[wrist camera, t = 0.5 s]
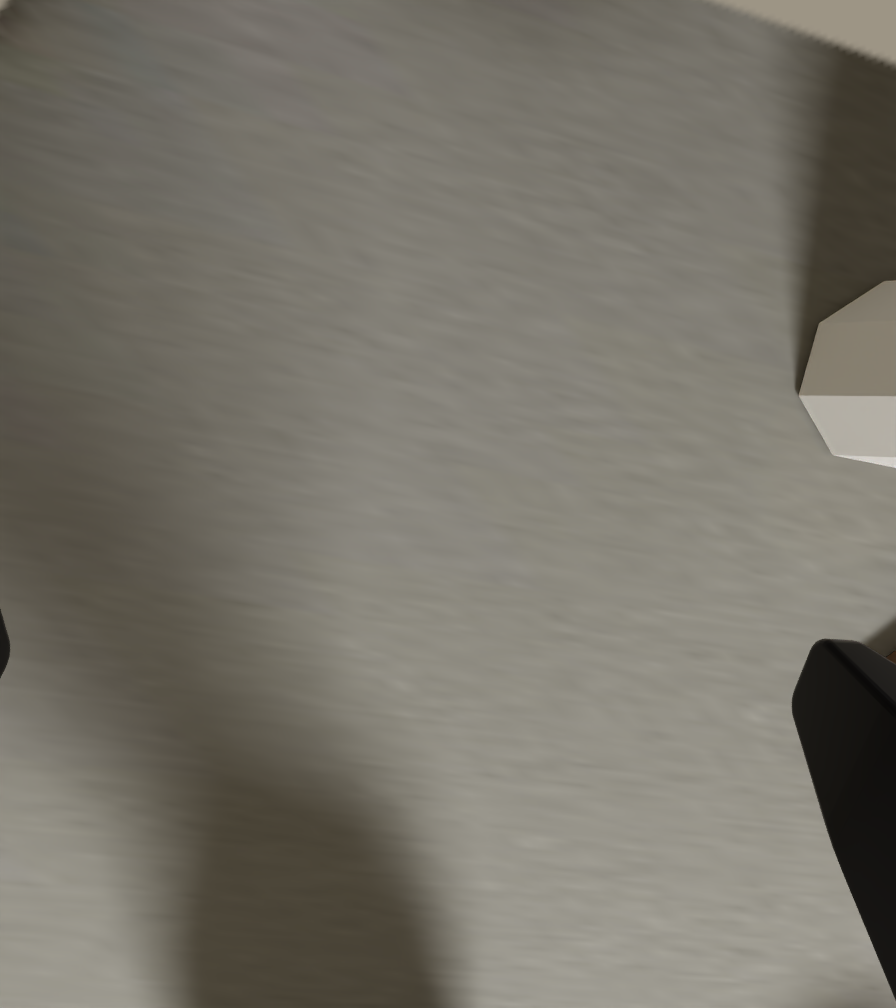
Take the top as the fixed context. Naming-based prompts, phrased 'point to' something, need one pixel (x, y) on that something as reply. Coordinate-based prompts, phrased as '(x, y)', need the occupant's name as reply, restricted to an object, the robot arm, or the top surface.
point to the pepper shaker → (856, 378)
